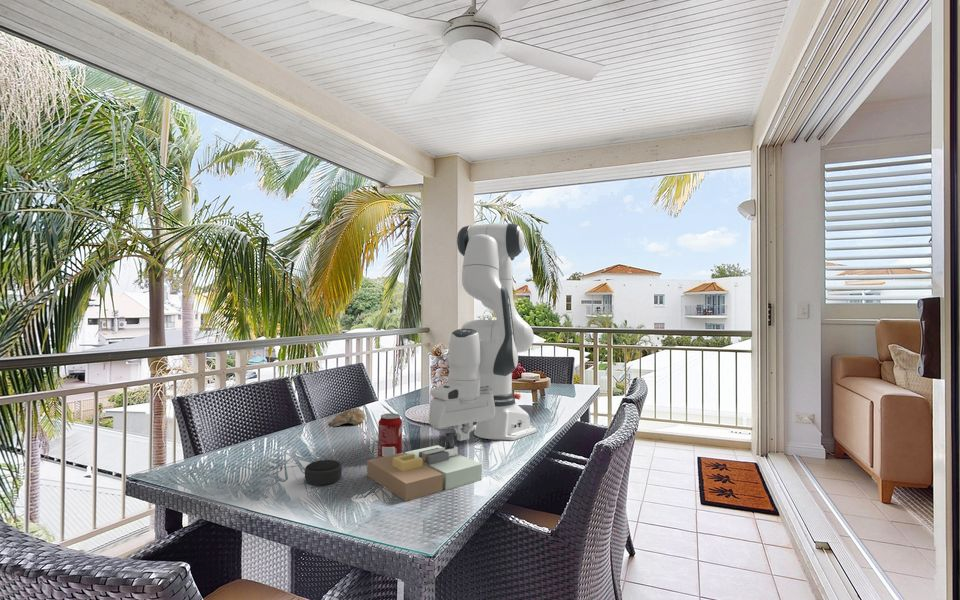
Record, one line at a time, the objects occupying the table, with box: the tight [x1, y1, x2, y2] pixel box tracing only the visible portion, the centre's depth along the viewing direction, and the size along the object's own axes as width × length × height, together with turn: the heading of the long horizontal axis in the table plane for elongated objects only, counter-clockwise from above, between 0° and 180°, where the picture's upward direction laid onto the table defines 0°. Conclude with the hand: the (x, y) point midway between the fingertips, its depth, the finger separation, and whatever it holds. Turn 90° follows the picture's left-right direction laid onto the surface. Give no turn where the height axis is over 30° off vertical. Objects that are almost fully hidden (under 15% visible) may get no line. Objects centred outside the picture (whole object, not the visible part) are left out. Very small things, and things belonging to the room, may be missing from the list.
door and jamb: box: [366, 444, 483, 502], centre depth 125 cm, size 22×20×6 cm
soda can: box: [377, 412, 403, 458], centre depth 141 cm, size 7×7×12 cm
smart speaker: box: [304, 459, 343, 486], centre depth 123 cm, size 9×9×4 cm
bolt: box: [422, 430, 459, 462], centre depth 128 cm, size 10×2×6 cm, turn 129°
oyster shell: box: [329, 407, 367, 427], centre depth 179 cm, size 10×12×5 cm
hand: (463, 439), depth 133 cm, fingers closed
